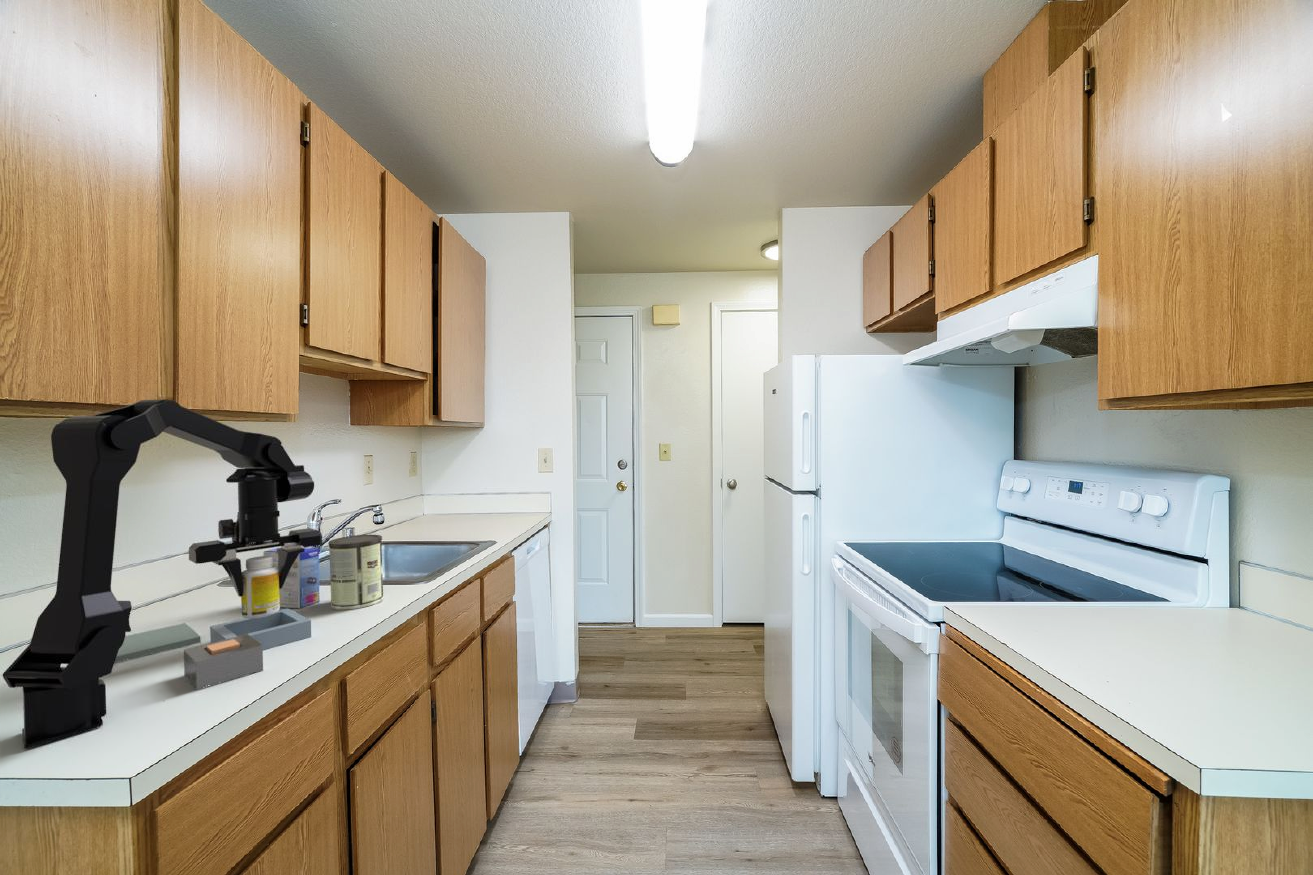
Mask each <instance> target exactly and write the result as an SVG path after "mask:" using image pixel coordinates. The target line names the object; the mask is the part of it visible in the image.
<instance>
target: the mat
mask: <svg viewBox="0 0 1313 875" xmlns="http://www.w3.org/2000/svg"><path fill="white" fill-rule="evenodd" d="M201 639H202V638H201V635H200V634H198V632H196V631H195V630H194V629H193V628H191V627H190V626H189V625H188V624H187V623H186V622H184V623H179V624H175V625H170V626H165V627H160V628H156V629H151V630H148V631H141V632H138V633H133V634H129V635H125V639H124V643H123V645H122V647H121V648H119V651H118V654H117V657H116V660H115V663H114V664H116V662H117V663H120V661H121V662H124V660H125V661H128V660H127V659H129V660H132V659H133V660H134V659H136V658H141V657H145V655H146V656H150V655H153V654H158V653H162V652H166V651H169V650H174V649H179V648H182V647H185V646H191V645H194V644H198V643H201Z"/></svg>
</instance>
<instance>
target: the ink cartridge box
mask: <svg viewBox="0 0 1313 875" xmlns="http://www.w3.org/2000/svg"><path fill="white" fill-rule="evenodd" d="M277 548H278V547H275V548H271V549H268V550H264V551H263V555H262V556H272V557H273V562H274V563H273V565H272V566H276V567H278V553H277ZM302 548H303V549H305V552H302V553H299V555H298V556H297V558H296V560H295V562H294V563H293V565H292V567H291V569H290V571H289V573H288V575H287V578H286V580H285V582H284V584H283V587H282V588H281V589H279V598H280V608H286V609H287V608H288V609H290V608H291V609H292V608H293V609H301V608H304V607H307V606H310V605H314V604H317V603H320V548H319V547H318V546H311V547H303V546H302Z"/></svg>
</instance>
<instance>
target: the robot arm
mask: <svg viewBox="0 0 1313 875" xmlns="http://www.w3.org/2000/svg"><path fill="white" fill-rule="evenodd" d="M162 433H166V434H167V435H171V436H174V437H175V438H179V439H181V440H184V441H188V442H190V443H193V444H195V445H198V446H201V447H203V448H207V449H209V450H212V451H215V452H216V453H217V454H219V455H220V457H221V459H222V460H224V461H225V462H227V463H229V464H230V465H232V466H234V467H236V470H235V471H234V472H233V473H232V474H231V475H229V476H228V477H227V478H226V480H225V482H226V483H227V484H228V483H229V484H230V483H231V484H233V483H237V504H238V506H237V507H238V509H237V510H238V511H237V514H236V515H237V516H236V518H237V519H236V521H234V520H233V518H229V519H220V520H219V521H218V522H217V523H218V525H217V526H218V529H217V530H218V531H217V532H218V537H219V539H220V540H219V539H216V540H209V541H202V542H196V543H195V542H194V543H192V544H191V545H190V546H189V547H188V560H189V561H190V562H192V563H194V564H196V565H197V564H207V563H213V564H215V565H218V566H222V568H223V569H224V570H225V572H226V573H227V575H228V577H229V579H230V581H231V583H232V586H233V587H234V590H235V592H236V594H237V596H238V597H239V598H241V596H243V581H242V572H243V571H242V561H241V560H242V559H240V558H237V554H238V553H245V552H252V551H258V550H264V549H270V548H271V549H274V548H277V553H278V569H279V589H281V588H282V587H283V584H284V582H285V580H286V578H287V575H288V573H289V571H290V569H291V567H292V565H293V563H294V562H295V560H296V558H297V556H298V555H299V553H302V552H305V549H303V548H302V547H318V546H321V545H323V534H322V532H321V531H320V530H318V529H316V528H315V529H314V528H311V527H309V528H301V529H294V530H293V529H291V530H289V532H288V534H287V535H282V536H281V533H280V532H279V517H281V516H280V510H279V508H278V507H279V506H278V504H279V503H284V502H285V503H286V502H292V501H297V500H304V499H307V498H309V497H310V496H311V495H312V493H313V491H314V489H315V481H314V480H313V477H312V475H310V474H309V472H306V471H305V466H304V465H303V464H302V465H301V464H300V465H297V464H296V465H295V463H294V462H293V460H292V459H291V457H290V456H289V455H288V454H289V453H288V452H287V450H286V449H285V448H284V447H283V445H282V441H281V440H280V439H279V438H278V437H276V436H273V435H268V434H264V433H258V432H248V431H243V430H239V429H237V428H234V427H232V426H230V425H226V424H225V423H222V422H219V421H217V420H215V419H213V418H211V417H208V416H206V415H204V414H201V413H198V412H196V411H194V410H191V409H189V408H187V407H185V406H182V405H181V404H179V403H178V402H177V401H174V400H172V399H168V398H161V399H143V400H139V401H137V402H134V403H131V404H129V405H127V406H124V407H119V408H114V409H112V410H108V411H104V412H100V413H95V414H93V415H87V416H80V415H79V416H71V417H68V418H64V419H63V420H62V421H60V422H59V423H56V424H55V426H54V427H53V428H52V432H51V435H50V440H51V441H50V442H51V449H52V457H53V462H54V464H55V466H56V468H57V469H58V471H59V472H60V474H61V475H62V477H63V478H64V480H65V483H66V487H65V488H66V489H65V498H64V508H63V516H62V517H63V518H62V528H61V541H60V550H59V559H58V560H59V562H58V569H57V581H56V590H55V594H54V596H53V598H52V599H51V600H50V602H49V603H48V604H47V606H46V607H45V608H44V610H42V612H41V613H40V615H38V617H37V619H36V622H35V627H34V630H33V633H32V636H31V639H30V643H29V644H28V646H27V647H26V648H25V649H24V650H22V652H21V653H20V654H19V655H18V657H17V658H16V659H15V660H14V661H13V662H12V663H11V664H10V665H9V666H8V667H7V669H5V670H4V672H3V673H2V679H3V680H4V681H5V683H6V684H7V686H8V688H11V689H12V688H13V689H16V688H22V700H23V701H22V702H23V704H22V706H23V711H22V712H23V728H21V729H22V730H21V732H22V733H21V734H22V735H21V736H22V743H23V749H25V750H26V749H31V748H35V747H37V746H40V745H44V744H47V743H50V742H53V741H57V740H60V739H64V738H66V737H70V736H73V735H76V734H80V733H83V732H86V731H90V730H93V729H96V728H99V727H101V726H103V725H104V720H103V717H105V716H106V715H107V692H106V691H107V690H106V689H107V688H106V685H107V684H106V683H105V681H104V679H102V678H103V677H105V676H108V675H111V674H112V671H113V669H114V666H115V664H116V663H115V660H116V657H117V654H118V651H119V648H121V647H122V645H123V643H124V639H125V636H127V635H126V633H130V632H132V628H131V626H130V616H131V612H132V607H133V606H132V601H130V600H118V599H117V598H116V596H115V595H114V593H113V591H112V576H113V565H114V555H115V544H116V543H115V542H116V533H117V532H116V531H117V521H118V511H119V510H118V509H119V498H120V487H121V486H120V485H121V482H122V480H123V479H124V478H125V476H126V475H127V474H128V473H129V472H130V471H131V469H132V467H133V466H135V464H136V463H137V459H138V455H139V453H140V448H141V445H142V444H144V443H147V442H148V441H151V440H153V439H155V438H157V437H160V435H161V434H162ZM223 539H231V540H232V541H231V542H230V543H229V542H227V543H225V542H223V541H221V540H223ZM62 665H66V666H62Z"/></svg>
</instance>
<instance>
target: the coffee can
mask: <svg viewBox="0 0 1313 875" xmlns="http://www.w3.org/2000/svg"><path fill="white" fill-rule="evenodd" d="M382 541H383V536H382V535H380V534H358V535H349V536H348V535H347V536H343V537H338V538H334V539H332V540H329V541H328V546H329V550H328V551H329V575H330V576H329V578H330V579H329V580H330V603H331V604H330V607H331V609H333V610H338V611H339V610H341V611H345V610H357V609H362V608H367V607H371V606H374V605H377V604H379V603H381V602H383V601H384V582H383V581H384V580H383V579H384V578H383V551H382V550H383V548H382V545H383V544H382Z"/></svg>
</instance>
